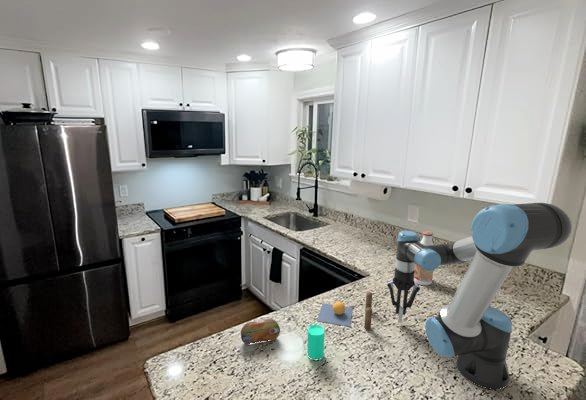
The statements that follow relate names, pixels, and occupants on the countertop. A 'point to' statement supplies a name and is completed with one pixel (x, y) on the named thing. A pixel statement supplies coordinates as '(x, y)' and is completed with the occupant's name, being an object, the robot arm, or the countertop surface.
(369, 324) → the post near
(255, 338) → the tin
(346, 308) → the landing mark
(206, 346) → the countertop surface
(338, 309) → the ball
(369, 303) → the post far
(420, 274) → the fruit juice
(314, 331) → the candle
